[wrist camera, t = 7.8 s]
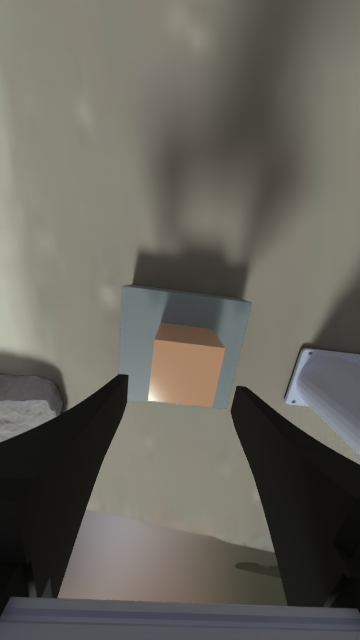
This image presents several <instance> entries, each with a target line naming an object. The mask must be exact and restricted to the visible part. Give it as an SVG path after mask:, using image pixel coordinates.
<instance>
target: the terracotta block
mask: <svg viewBox="0 0 360 640" xmlns="http://www.w3.org/2000/svg"><path fill="white" fill-rule="evenodd" d="M224 352H225V347H224V345H223V344H222V342H221V341H220V340H219V338H218V337H217V335H216V334H215V332H214V331H213V329H209V328H201V327H193V326H185V325H178V324H170V323H162V322H161V323H160V325H159V328H158V331H157V334H156V336H155V339H154V348H153V357H152V367H151V376H150V386H149V395H148V401H156V402H166V403H175V404H185V405H195V406H204V407H213V402H214V398H215V393H216V388H217V384H218V379H219V375H220V370H221V366H222V361H223V357H224Z"/></svg>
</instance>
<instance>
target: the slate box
mask: <svg viewBox="0 0 360 640" xmlns="http://www.w3.org/2000/svg"><path fill="white" fill-rule="evenodd" d="M251 304H252V303H251V302H248V301H246V300H243V299H240V298H235V297H227V296H219V295H211V294H203V293H196V292H188V291H180V290H172V289H164V288H157V287H149V286H141V285H133V284H131V285H125V286H122V294H121V319H120V345H119V370H118V374H126V375H129V379H128V396H127V400H134V401H144V402H155V403H166V402H156V401H148V395H149V386H150V376H151V367H152V357H153V348H154V339H155V336H156V334H157V331H158V328H159V325H160V323H161V322H162V323H170V324H178V325H185V326H193V327H201V328H209V329H213V331H214V332H215V334H216V335H217V337H218V338H219V340H220V341H221V342H222V344H223V345H224V347H225V352H224V357H223V361H222V366H221V370H220V375H219V379H218V384H217V388H216V393H215V398H214V402H213V407H209V408H219V409H227V405H228V401H229V397H230V392H231V388H232V384H233V380H234V375H235V371H236V367H237V363H238V359H239V354H240V350H241V346H242V342H243V338H244V333H245V329H246V325H247V321H248V317H249V312H250V308H251ZM166 404H175V403H166ZM176 405H185V404H176ZM187 406H195V405H187ZM198 407H204V406H198Z"/></svg>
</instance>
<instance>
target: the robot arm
mask: <svg viewBox="0 0 360 640" xmlns="http://www.w3.org/2000/svg"><path fill="white" fill-rule="evenodd" d="M309 352H310V353H309ZM128 379H129V375H126V374H118V375H117V376H116V377H115V378H113V379H112V380H111V381H109V382H108V383H107V384H106V385H104V386H103V387H102V388H100V389H99V390H98V391H96V392H95V393H94V394H92V395H91V396H89V397H88V398H87V399H85V400H84V401H82V402H81V403H79V404H77V405H76V406H74V407H73V408H71V409H69V410H67V411H66V412H64V413H62V414H60V415H59V416H57V417H55V418H53V419H51V420H49V421H47V422H45V423H43V424H41V425H39V426H37V427H35V428H33V429H30V430H28V431H26V432H24V433H21V434H19V435H17V436H14V437H12V438H10V439H7V440H5V441H2V442H0V640H360V465H359V464H357V463H355V462H353V461H352V460H350V459H348V458H346V457H344V456H343V455H341V454H339V453H337V452H336V451H334V450H332V449H331V448H329V447H327V446H325V445H324V444H322V443H320V442H319V441H317V440H316V439H314V438H313V437H311V436H310V435H308V434H307V433H305V432H304V431H302V430H301V429H299V428H298V427H296V426H295V425H293V424H292V423H291V422H289V421H288V420H287V419H285V418H284V417H283V416H281V415H280V414H279V413H278V412H276V411H275V410H274V409H273V408H271V407H270V406H269V405H268V404H266V403H265V402H264V401H263V400H262V399H260V398H259V397H258V396H257V395H256V394H254V393H253V392H252V391H251V390H249V389H248V388H247V387H243V386H237V387H236V391H235V395H234V399H233V404H232V408H231V415H232V419H233V423H234V426H235V429H236V432H237V435H238V437H239V440H240V442H241V445H242V447H243V450H244V452H245V455H246V457H247V460H248V462H249V465H250V468H251V470H252V473H253V476H254V479H255V482H256V486H257V489H258V492H259V496H260V499H261V502H262V506H263V510H264V513H265V517H266V520H267V524H268V527H269V531H270V535H271V539H272V543H273V547H274V551H275V554H276V558H277V562H278V567H279V571H280V575H281V579H282V583H283V588H284V592H285V596H286V600H287V605H288V606H266V605H238V604H209V603H207V604H206V603H178V602H150V601H149V602H148V601H120V600H90V599H62V598H60V599H59V598H57V596H58V594H59V590H60V587H61V584H62V581H63V578H64V575H65V572H66V568H67V565H68V562H69V559H70V556H71V553H72V550H73V546H74V543H75V540H76V537H77V534H78V531H79V528H80V525H81V522H82V519H83V516H84V513H85V510H86V507H87V504H88V501H89V498H90V496H91V493H92V490H93V487H94V484H95V481H96V478H97V476H98V473H99V470H100V467H101V464H102V462H103V460H104V457H105V455H106V452H107V450H108V448H109V446H110V444H111V441H112V439H113V437H114V435H115V432H116V430H117V428H118V426H119V423H120V421H121V419H122V416H123V413H124V410H125V407H126V404H127V396H128ZM285 402H286V403H287V404H290V405H300V406H309V407H310V408H311V409H312V410H313V411H315V412H316V413H317V414H318V415H319V416H320V417H321V418H322V419H323V420H324V421H325V422H326V423H327V424H328V425H329V426H330V427H331V428H332V429H333V430H334V431H335V432H336V433H337V434H338V435H339V436H340V437H341V438H342V439H343V440H344V441H345V442H346V443H347V444H348V445H349V446H350V447H351V448H352V449H354V450H355V451H356V452H357V453H358V454H359V455H360V354H353V353H345V352H336V351H327V350H319V349H310V348H303V349H302V350H301V352H300V355H299V358H298V361H297V364H296V367H295V370H294V373H293V376H292V379H291V382H290V385H289V388H288V391H287V394H286V397H285Z"/></svg>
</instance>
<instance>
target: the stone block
mask: <svg viewBox="0 0 360 640" xmlns="http://www.w3.org/2000/svg"><path fill="white" fill-rule="evenodd" d="M62 405H63V400H62V399H61V396H60V393H59V391H58V389H57V386H56V384H55V383H54V382H53V381H51V380H49V379H44V378H41V377H38V376H24V375H22V376H12V375H8V374H0V442H2V441H5V440H7V439H10V438H12V437H14V436H17V435H19V434H21V433H24V432H26V431H28V430H30V429H33V428H35V427H37V426H39V425H41V424H43V423H45V422H47V421H49V420H51V419H53V418H55V417H57V416H59V415H60V413H61V408H62Z"/></svg>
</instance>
